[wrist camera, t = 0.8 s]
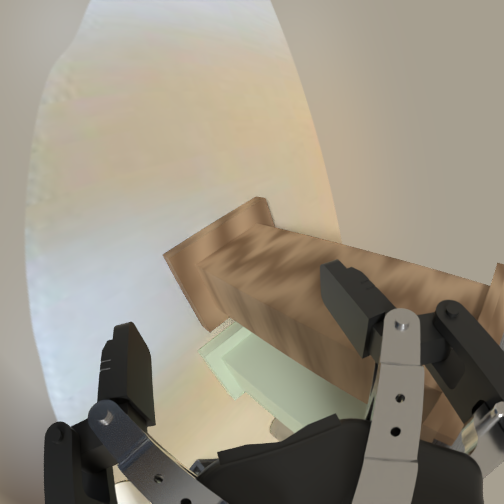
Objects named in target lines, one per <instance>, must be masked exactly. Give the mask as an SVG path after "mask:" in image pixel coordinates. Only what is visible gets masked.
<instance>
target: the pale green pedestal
mask: <svg viewBox="0 0 504 504" xmlns="http://www.w3.org/2000/svg"><path fill="white" fill-rule="evenodd" d="M198 352H199V354H200V355H201V357H202V358H203V359H204V361H205V362H206V364H207V365H208V367H209V368H210V370H211V371H212V372H213V374H214V375H215V377H216V378H217V379H218V381H219V382H220V383H221V385H222V386H223V388H224V389H225V390H226V392H227V393H228V394H229V395H230V396H231V397H232V398H233V399H234V400H236V399H238V398H239V397H240V396H241V395H242V394H244V393H245V392H246V393H247V394H248V395H250V396H251V397H252V398H253V399H254V400H255V401H256V402H258V403H259V404H260V405H261V406H262V407H263V408H265V409H266V410H267V411H268V412H269V413H271V414H272V415H273V416H274V417H275V418H277V419H278V420H279V421H280V422H282V423H283V424H284V425H285V426H286V427H288V428H289V429H290V430H292V431H293V432H294V433H296V432H297V431H299V430H300V429H302V428H303V427H305V426H306V425H308V424H310V423H313V422H315V421H318V420H320V419H323V418H325V417H328V416H330V415H333V414H335V413H336V415H337V416H338V418H339V419H347V418H358V419H364V416H365V412H366V408H367V404H366V403H364V402H362V401H360V400H359V399H357V398H355V397H353V396H352V395H350V394H348V393H347V392H345V391H343V390H341V389H340V388H338V387H336V386H335V385H333V384H331V383H330V382H328V381H327V380H325V379H323V378H322V377H320V376H318V375H317V374H315V373H314V372H312V371H310V370H309V369H307V368H306V367H304V366H302V365H301V364H299V363H298V362H296V361H295V360H293V359H291V358H290V357H288V356H287V355H285V354H284V353H282V352H281V351H279V350H278V349H276V348H275V347H273V346H272V345H270V344H268V343H267V342H265V341H264V340H263V339H261V338H260V337H258V336H257V335H255V334H254V333H252V332H251V331H249V330H248V329H246V328H245V327H243V326H242V325H241V324H239V323H238V322H236V321H235V322H234V323H233V324H232V325H230V326H229V327H228V328H226V329H225V330H224V331H223V332H221V333H220V334H219V335H217V336H216V337H215V338H214V339H212V340H211V341H210V342H208V343H207V344H206V345H204V346H203V347H202V348H201V349H199V350H198Z"/></svg>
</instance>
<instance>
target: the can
mask: <svg viewBox="0 0 504 504" xmlns="http://www.w3.org/2000/svg"><path fill="white" fill-rule="evenodd" d="M115 490H116V496H117V502H118V504H151V503H150V502H149V500H148V499H147V498H146V497H145V496H144V495H143V494H142V493H141V492H140V491H139V490H138V489H137V488H136V487H135V486H134V485H133V484H132V483H131V482H130V481H123V482H119V483H116V484H115Z"/></svg>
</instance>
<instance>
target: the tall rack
mask: <svg viewBox="0 0 504 504" xmlns="http://www.w3.org/2000/svg"><path fill="white" fill-rule="evenodd" d="M163 256H164V258H165V260H166V262H167V264H168V266H169V268H170V270H171V271H172V273H173V275H174V277H175V279H176V281H177V282H178V284H179V286H180V288H181V290H182V291H183V293H184V295H185V297H186V298H187V300H188V302H189V304H190V305H191V307H192V309H193V311H194V312H195V314H196V316H197V317H198V319H199V321H200V323H201V324H202V326H203V327H204V328H205V329H206V330H208V331H209V332H211V331H212V330H214V329H215V328H216V327H217V326H219V325H220V324H221V323H223V322H224V321H225V320H227V319H228V318H229V317H231V318H232V319H233V320H235V321H236V322H238V323H239V324H241V325H242V326H243V327H245V328H246V329H248V330H249V331H251V332H252V333H254V334H255V335H257V336H258V337H260V338H261V339H263V340H264V341H265V342H267V343H268V344H270V345H272V346H273V347H275V348H276V349H278V350H279V351H281V352H282V353H284V354H285V355H287V356H288V357H290V358H291V359H293V360H295V361H296V362H298V363H299V364H301V365H302V366H304V367H306V368H307V369H309V370H310V371H312V372H314V373H315V374H317V375H318V376H320V377H322V378H323V379H325V380H327V381H328V382H330V383H331V384H333V385H335V386H336V387H338V388H340V389H341V390H343V391H345V392H347V393H348V394H350V395H352V396H353V397H355V398H357V399H359V400H360V401H362V402H364V403H366V404H368V400H369V395H370V389H371V383H372V377H373V371H374V364H375V361H374V359H373V358H372V356H371V355H370V356H367V357H365V358H363V359H362V358H361V357H360V355H359V354H358V352H357V351H356V349H355V348H354V346H353V345H352V344H351V342H350V341H349V339H348V338H347V336H346V335H345V333H344V332H343V330H342V329H341V328H340V326H339V325H338V323H337V322H336V320H335V319H334V318H333V316H332V315H331V313H330V312H329V310H328V309H327V308H326V306H325V304H324V302H323V300H322V297H321V286H320V265H321V264H324V263H327V262H330V261H333V260H336V259H338V260H339V261H340V262H341V263H342V264H343V265H344V266H345V267H346V268H349V267H353V268H355V269H357V270H359V271H361V272H363V273H364V274H365V275H366V276H367V277H368V278H369V281H371V282H372V283H373V284H374V285H375V287H377V288H378V289H379V290H380V291H381V292H382V293H383V294H384V295H385V296H386V297H387V299H388V300H389V301H390V302H391V303H392V304H393V305H394V306H395V307H396V308H404V309H408V310H411V311H412V312H414V313H415V314H416V315H421V314H426V313H432V312H435V310H436V307H437V305H438V303H440V302H441V301H443V300H454V301H457V302H459V303H461V304H462V305H463V306H464V307H465V308H466V309H467V310H468V311H469V312H470V313H471V315H472V316H473V317H474V318H475V319H476V320H477V321H478V322H479V323H480V324H481V325H482V327H483V328H484V329H485V330H486V331H487V332H488V333H489V334H490V336H491V337H492V338H493V339H494V340H495V341H496V343H497V344H498V345H500V342H501V339H502V336H503V333H504V264H500V263H497V266H496V270H495V273H494V276H493V279H492V283H491V286H488V285H485V284H482V283H478V282H475V281H472V280H469V279H465V278H462V277H459V276H455V275H452V274H448V273H445V272H441V271H438V270H434V269H431V268H428V267H424V266H421V265H417V264H413V263H410V262H406V261H403V260H399V259H395V258H391V257H388V256H384V255H380V254H377V253H373V252H369V251H366V250H362V249H358V248H354V247H350V246H347V245H343V244H339V243H335V242H331V241H327V240H323V239H319V238H315V237H311V236H307V235H303V234H299V233H295V232H291V231H287V230H283V229H279V228H275V226H274V223H273V220H272V217H271V214H270V211H269V208H268V205H267V202H266V199H265V198H262V197H255V198H253V199H251V200H250V201H248V202H246V203H245V204H243V205H241V206H240V207H238V208H236V209H235V210H233V211H231V212H230V213H228V214H227V215H225V216H223V217H222V218H220V219H218V220H217V221H215V222H213V223H212V224H210V225H209V226H207V227H205V228H204V229H202V230H201V231H199V232H197V233H196V234H194V235H193V236H191V237H190V238H188V239H186V240H185V241H183V242H182V243H180V244H179V245H177V246H175V247H174V248H172V249H171V250H169V251H168V252H166V253H165V254H163ZM422 366H424V396H423V410H422V422H421V431H420V439H421V440H424V441H427V442H430V443H432V442H433V440H434V439H436V440H438V441H441V442H443V443H445V444H447V445H449V446H452V444H453V443H454V442H455V440H456V439H457V437H458V435H459V433H460V432H461V430H462V428H463V426H464V424H463V422H462V421H461V419H460V418H459V416H458V414H457V413H456V411H455V410H454V408H453V407H452V405H451V404H450V402H449V401H448V399H447V397H446V396H445V394H444V393H443V391H442V390H441V388H440V387H439V386H438V384H437V383H436V381H435V380H434V378H433V377H432V375H431V374H430V372H429V371H428V369H427V368H426V367H425V365H422Z"/></svg>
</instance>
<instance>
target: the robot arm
mask: <svg viewBox="0 0 504 504" xmlns="http://www.w3.org/2000/svg"><path fill="white" fill-rule="evenodd" d="M320 286H321V297H322V300H323V302H324V304H325V306H326V308H327V309H328V310H329V312H330V313H331V315H332V316H333V318H334V319H335V320H336V322H337V323H338V325H339V326H340V328H341V329H342V330H343V332H344V333H345V335H346V336H347V338H348V339H349V341H350V342H351V344H352V345H353V346H354V348H355V349H356V351H357V352H358V354H359V355H360V357H361V358H362V359H363V358H365V357H367V356H370V355H371V356H372V358H373V359H374V361H375V364H374V371H373V377H372V383H371V389H370V395H369V400H368V404H367V408H366V412H365V416H364V419H358V418H347V419H339V418H338V416H337V415H336V413H335V414H333V415H330V416H328V417H325V418H323V419H320V420H318V421H315V422H313V423H310V424H308V425H306V426H305V427H303V428H302V429H300V430H299V431H297V432H296V433H294V432H293V431H292V430H290V429H289V428H288V427H286V426H285V425H284V424H283V423H282V422H280V421H279V420H278V419H277V418H275V419H274V421H273V422H272V424H271V427H270V433H271V434H272V435H273V436H274V437H275V438H276V439H278V440H279V441H280V442H276V443H264V444H249V445H244V446H240V447H236V448H232V449H228V450H224V451H220V452H217V454H218V457H219V459H218V460H216V461H214V462H213V463H211V464H210V465H208V466H207V467H206V468H205V469H204V470H203V471H202V472H201V473H200V474H199V475H198V476H197V475H196V474H194V473H193V472H192V471H191V470H189V469H188V468H187V467H185V466H184V465H183V464H182V463H180V462H179V461H178V460H177V459H176V458H175V457H173V456H172V455H171V454H170V453H169V452H168V451H167V450H165V449H164V448H163V447H162V446H161V445H160V444H159V443H158V442H157V441H156V440H155V439H153V438H152V437H151V436H150V435H149V434H148V433H147V427H148V426H154V425H156V423H155V412H154V400H153V385H152V366H151V355H150V352H149V349H148V347H147V345H146V343H145V342H144V340H143V338H142V337H141V335H140V333H139V332H138V330H137V328H136V326H135V325H134V323H133V322H128V323H125V324H121V325H117V326H115V327H114V332H113V340H108V341H107V343H106V344H105V346H104V348H103V350H102V356H101V365H100V371H101V372H100V374H99V386H98V399H97V403H96V404H94V405H93V406H92V408H91V409H90V411H89V413H88V418H87V419H86V420H84V421H82V422H80V423H78V424H75V425H73V426H71V427H70V426H69V425H68V424H66V423H64V422H56V423H54V424H52V425H51V426H50V427H49V428H48V430H47V432H46V434H45V445H44V491H45V492H44V493H45V504H118V502H117V496H116V490H115V483H114V476H113V467H112V466H114V465H116V464H118V463H119V464H118V465H117V466H118V468H119V469H120V471H121V472H122V473H123V474H124V475H125V476H126V477H127V479H128V480H129V481H130V482H131V483H132V484H133V485H134V486H135V487H136V488H137V489H138V490H139V491H140V492H141V493H142V494H143V495H144V496H145V497H146V498H147V499H148V500H149V501H150V502H151V503H152V504H484V500H483V479H484V478H485V477H486V476H487V475H488V474H490V473H491V472H492V471H493V470H494V469H495V468H496V467H498V466H499V465H500V464H501V463H502V462H503V461H504V351H503V350H502V349H501V347H500V346H499V345H498V344H497V343H496V341H495V340H494V339H493V338H492V337H491V336H490V334H489V333H488V332H487V331H486V330H485V329H484V328H483V327H482V325H481V324H480V323H479V322H478V321H477V320H476V319H475V318H474V317H473V316H472V315H471V313H470V312H469V311H468V310H467V309H466V308H465V307H464V306H463V305H462V304H461V303H459V302H457V301H454V300H443V301H441V302H440V303H438V305H437V307H436V310H435V312H432V313H426V314H421V315H416V314H415V313H414V312H412V311H411V310H408V309H404V308H396V307H395V306H394V305H393V304H392V303H391V302H390V301H389V300H388V299H387V297H386V296H385V295H384V294H383V293H382V292H381V291H380V290H379V289H378V288H377V287H375V285H374V284H373V283H372V282H371V281H369V278H368V277H367V276H366V275H365V274H364V273H363V272H361V271H359V270H357V269H355V268H353V267H349V268H346V267H345V266H344V265H343V264H342V263H341V262H340V261H339V260H338V259H336V260H333V261H330V262H327V263H324V264H321V265H320ZM422 365H425V367H426V368H427V369H428V371H429V372H430V374H431V375H432V377H433V378H434V380H435V381H436V383H437V384H438V386H439V387H440V388H441V390H442V391H443V393H444V394H445V396H446V397H447V399H448V401H449V402H450V404H451V405H452V407H453V408H454V410H455V411H456V413H457V414H458V416H459V418H460V419H461V421H462V422H463V424H464V426H463V428H462V443H463V445H464V446H465V453H464V452H460V451H457V450H453V449H450V448H446V447H443V446H440V445H437V444H433V443H430V442H427V441H424V440H421V439H420V431H421V422H422V410H423V396H424V366H422Z"/></svg>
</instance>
